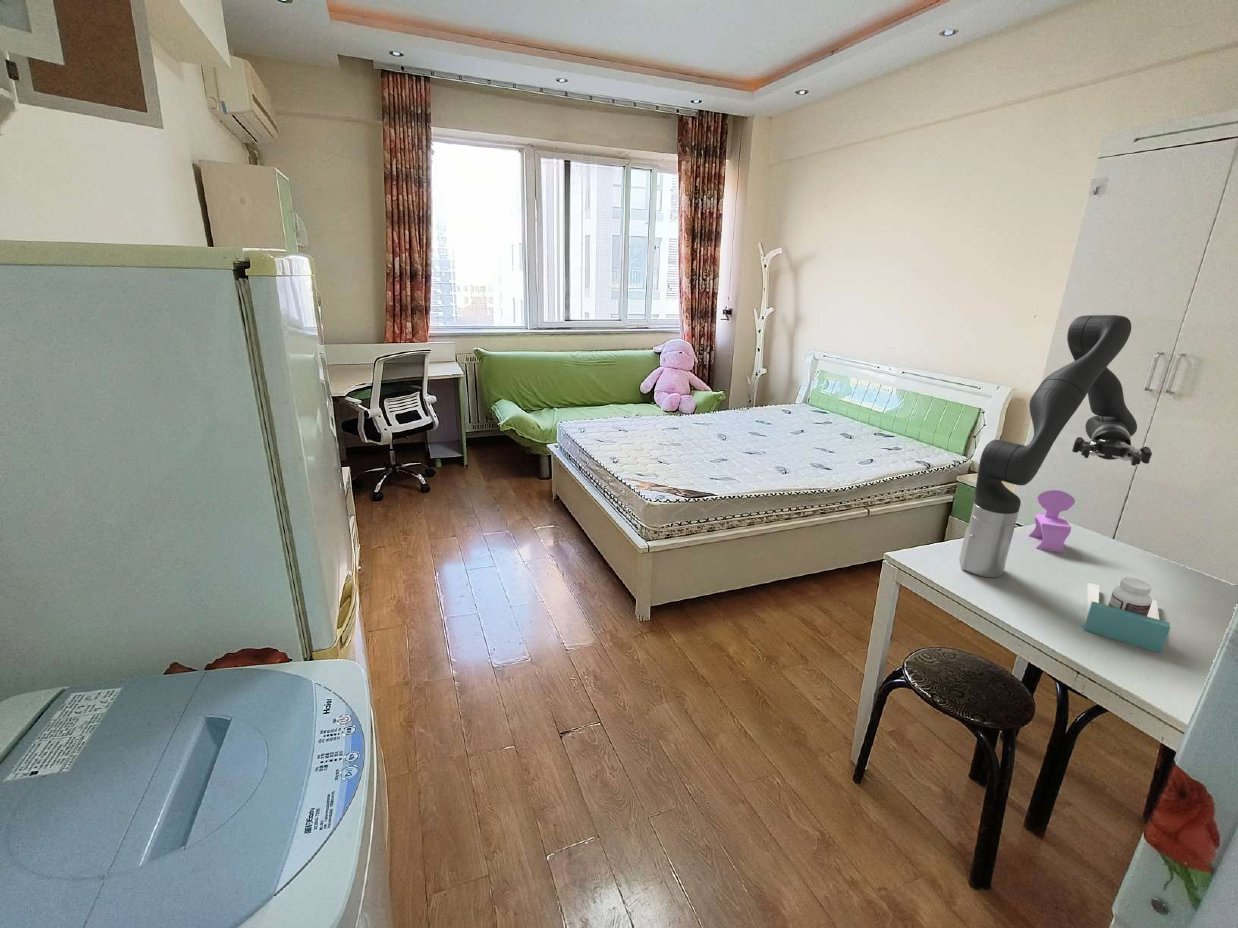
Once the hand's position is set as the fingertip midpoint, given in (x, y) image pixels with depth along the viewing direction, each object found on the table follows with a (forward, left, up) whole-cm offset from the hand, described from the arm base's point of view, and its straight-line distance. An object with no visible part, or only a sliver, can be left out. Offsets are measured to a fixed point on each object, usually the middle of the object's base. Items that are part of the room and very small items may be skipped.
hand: (1110, 457), depth 131 cm
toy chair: (-4, +14, -30) cm, 33 cm away
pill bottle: (+2, -25, -30) cm, 39 cm away
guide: (+3, -19, -30) cm, 36 cm away
